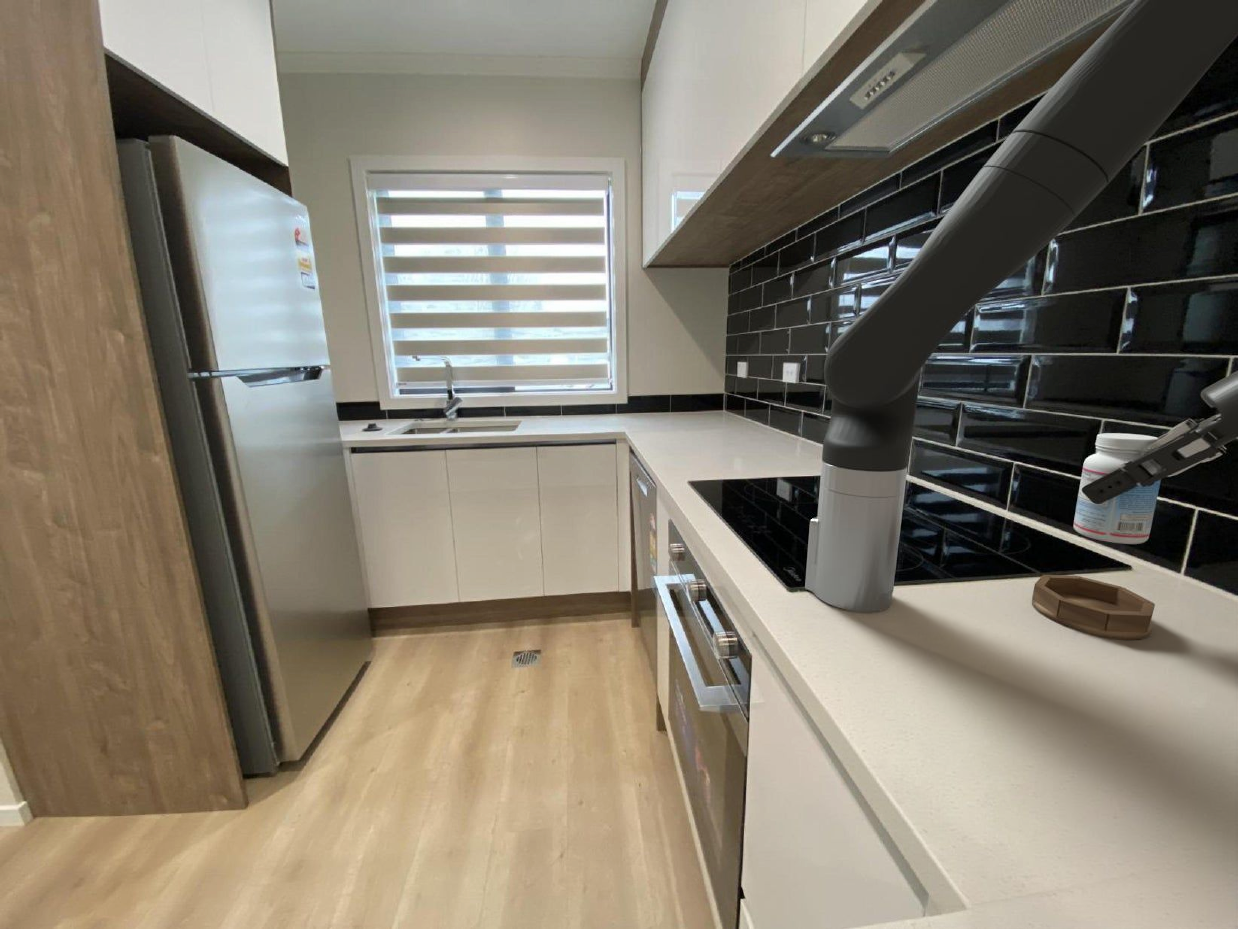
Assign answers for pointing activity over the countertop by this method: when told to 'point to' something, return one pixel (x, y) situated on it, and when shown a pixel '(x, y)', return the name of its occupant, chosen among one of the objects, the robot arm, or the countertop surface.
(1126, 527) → the pill bottle
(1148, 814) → the countertop surface
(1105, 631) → the bowl
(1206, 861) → the countertop surface
